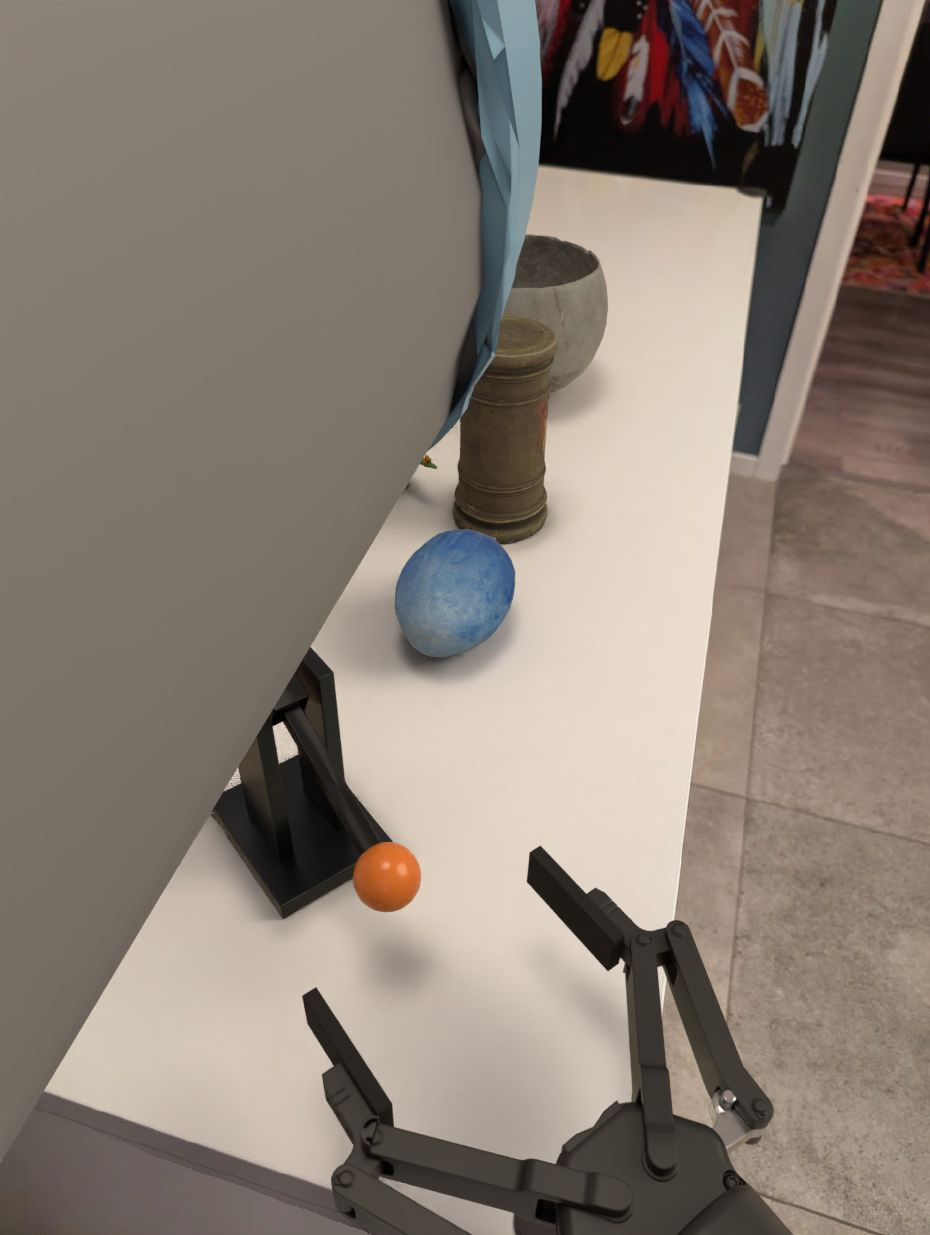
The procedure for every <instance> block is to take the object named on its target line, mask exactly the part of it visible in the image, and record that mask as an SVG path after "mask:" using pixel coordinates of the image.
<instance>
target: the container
mask: <svg viewBox="0 0 930 1235" xmlns="http://www.w3.org/2000/svg"><path fill="white" fill-rule="evenodd" d="M557 349H558V339H557V336H556V333H555V332H554V331H553V329H552V328H551V327H549V326H548V325H546V324H544V323H542V322H540V321H537V320H534V319H531V318H526V317H520V316H509V315H502V318H501V322H500V329H499V336H498V343H497V350H496V356H495V357H494V358H493V360H492V361H491V363H490V364H489V366H488V367H487V369H486V370H485V371H484V373H483V374H482V376H481V377H480V379H479V380H478V382H477V383H476V384H475V386H474V389H473V392H472V395H471V399H470V402H469V405H468V408H467V409H466V411H465V412H464V414H463V415H462V416H461V418H460V419H459V459H458V461H457V465H456V466H457V474H458V478H457V479H458V481H457V482H458V483H457V485H456V487H455V489H454V494H453V495H454V501H453V505H452V514H453V518H454V521H455V523H456V525H457V526H458V527H459V528H460V530H464V529H468V530H474V531H478V532H481V533H483V534H485V535H488V536H491V537H495V538H496V539H495V540H496V541H497V542H498V543H499V544H507V543H514V542H519V541H522V540H525V539H528V538H530V537H532V536H533V535H535V534H536V533H538V532H539V531H540V530H541V529H542V527H543V526H544V524H545V523H546V520H547V516H548V512H549V511H548V510H549V509H548V504H547V500H548V492H547V490H546V487H545V476H546V472H547V467H546V466H547V465H546V461H545V458H546V457H545V456H546V442H547V428H548V416H549V400H550V393H549V391H550V389H551V380H550V369H551V367H552V364H553V362H554V355H555V353H556V351H557ZM496 530H497V532H496Z"/></svg>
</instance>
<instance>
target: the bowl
mask: <svg viewBox="0 0 930 1235" xmlns="http://www.w3.org/2000/svg"><path fill="white" fill-rule="evenodd" d="M607 286H608V285H607V281H606V278H605V274H604V270H603V267H602V264H601V261H600V258H599V257H598V256H597V254H595V252H593V251H592V250H590V249H589V250H588V249H586V248H585V247H583V246H582V245H578V244H577V243H574V242H571V241H568V240H562V239H560V238H557V237H555V236H549V235H540V234H532V233H530V234H528V233H526V235H525V239H524V242H523V246H522V249H521V252H520V255H519V258H518V261H517V264H516V270H515V278H514V281H513V284H512V287H511V290H510V293H509V296H508V299H507V302H506V305H505V309H504V312H503V315H509V316H520V317H526V318H531V319H534V320H537V321H540V322H542V323H544V324H546V325H548V326H549V327H551V328H552V329H553V331H554V332H555V333H556V336H557V339H558V349H557V351H556V353H555V355H554V362H553V364H552V367H551V369H550V380H551V389H550V391H549V394H551V393H553V392H556V391H559V390H561V389H562V388H565V387H566V386H568V385H569V384H570V383H572V382H573V381H575V380H576V379H577V378H579V377H580V375H582V374H583V373H584V372H585V371H586V370H587V368H588V367H589V366H590V365H591V364H592V362H593V360H594V359H595V356H596V354H597V352H598V350H599V348H600V345H601V343H602V341H603V338H604V335H605V331H606V326H607V323H608V322H607V321H608V312H609V298H608V288H607Z"/></svg>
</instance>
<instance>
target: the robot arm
mask: <svg viewBox="0 0 930 1235" xmlns="http://www.w3.org/2000/svg"><path fill="white" fill-rule="evenodd" d="M536 6H537V5H536V0H0V1164H2V1162H3V1160H4V1159H5V1157H6V1155H7V1153H9V1150H10V1148H11V1146H12V1145H13V1143H14V1142H15V1140H16V1138H17V1137H18V1135H19V1133H20V1132H21V1130H22V1128H24V1125H25V1123H26V1122H27V1120H28V1118H29V1117H30V1115H31V1114H32V1112H33V1110H34V1108H35V1107H36V1105H37V1104H38V1102H39V1101H40V1098H41V1097H42V1095H43V1093H44V1092H45V1090H46V1089H47V1087H48V1085H49V1083H50V1082H51V1080H52V1078H53V1077H54V1076H55V1073H56V1072H57V1070H58V1068H59V1067H60V1065H61V1064H62V1062H63V1060H64V1058H65V1056H66V1055H67V1053H68V1051H69V1050H70V1048H71V1047H72V1046H73V1043H74V1042H75V1040H76V1039H77V1037H78V1035H79V1033H80V1032H81V1030H82V1028H83V1027H84V1025H85V1023H86V1021H87V1020H88V1019H89V1017H90V1015H91V1014H92V1012H93V1010H94V1008H95V1007H96V1005H97V1003H98V1002H99V1000H100V998H101V997H102V995H103V993H104V991H105V990H106V989H107V987H108V985H109V984H110V982H111V980H112V978H113V977H114V975H115V974H116V972H117V971H118V968H119V967H120V965H121V964H122V962H123V960H124V958H126V955H127V953H128V951H129V950H130V948H131V947H132V945H133V944H134V942H135V940H136V938H137V937H138V935H139V933H140V931H141V930H142V928H143V927H144V925H145V924H146V922H147V920H148V919H149V916H150V915H151V913H152V911H153V910H154V908H155V906H156V905H157V903H158V901H159V900H160V898H161V897H162V896H163V893H164V892H165V890H166V888H167V887H168V885H169V883H170V881H171V880H172V878H173V877H174V875H175V873H176V871H177V870H178V868H179V866H180V865H181V863H182V861H183V860H184V858H185V857H186V855H187V853H188V852H189V850H190V848H191V847H192V845H193V843H194V842H195V840H196V839H197V837H198V835H199V833H200V831H201V830H202V828H203V826H204V825H205V823H206V822H207V820H208V818H209V817H210V815H211V813H212V812H211V811H212V810H213V808H214V806H215V805H216V803H217V801H218V800H219V798H220V796H221V795H222V793H223V792H224V791H226V788H227V786H228V785H229V783H230V782H231V780H232V779H233V777H234V775H235V773H236V772H237V770H238V766H239V765H240V763H241V761H242V760H243V758H244V756H245V755H246V753H247V751H248V750H249V748H250V746H251V745H252V743H253V741H254V740H255V738H256V736H257V735H258V733H259V731H260V730H261V728H262V726H263V725H264V723H265V721H266V720H267V718H268V716H269V715H270V713H271V711H272V710H273V708H274V706H275V705H276V703H277V701H278V700H279V698H280V696H281V695H282V693H283V691H284V690H285V688H286V686H287V685H288V683H289V681H290V680H291V678H292V676H293V675H294V673H295V671H296V670H297V668H298V666H299V665H300V663H301V661H302V660H303V658H304V656H305V655H306V653H307V651H308V650H309V648H310V647H312V645H313V643H314V642H315V640H316V638H317V636H318V635H319V633H320V632H321V630H322V628H323V626H324V625H325V623H326V621H327V620H328V618H329V617H330V615H331V613H332V611H333V610H334V609H335V606H336V605H337V603H338V601H339V600H340V598H341V596H342V595H343V593H344V592H345V590H346V588H347V586H348V585H349V583H350V582H351V580H352V578H353V576H354V575H355V573H356V572H357V570H358V568H359V566H360V565H361V563H362V561H363V560H364V558H365V556H366V554H367V553H368V551H369V550H370V548H371V546H372V545H373V543H374V541H375V540H376V538H377V536H378V535H379V533H380V532H381V530H382V528H383V526H384V525H385V523H386V521H387V520H388V518H389V516H390V515H391V513H392V511H393V509H394V508H395V506H396V505H397V503H398V502H399V499H400V498H401V496H402V495H403V493H404V492H405V490H406V488H407V487H408V483H409V484H410V481H411V479H412V478H413V476H414V475H415V473H416V471H417V469H418V468H419V466H420V463H421V461H422V460H423V458H424V457H425V456H426V455H427V453H428V452H429V451H430V450H431V449H432V448H434V447H435V446H436V445H438V444H439V443H440V442H441V441H442V440H443V438H444V437H446V435H447V434H448V433H449V432H450V431H451V430H452V429H454V427H455V425H457V423H458V422H459V421H460V418H461V416H462V415H463V414H464V412H465V411H466V409H467V408H468V405H469V402H470V399H471V395H472V392H473V389H474V386H475V384H476V383H477V382H478V380H479V379H480V377H481V376H482V374H483V373H484V371H485V370H486V369H487V367H488V366H489V364H490V363H491V361H492V360H493V358H494V357H495V356H496V350H497V343H498V336H499V329H500V322H501V318H502V315H503V312H504V309H505V305H506V302H507V299H508V296H509V293H510V290H511V287H512V284H513V281H514V278H515V270H516V264H517V261H518V258H519V255H520V252H521V249H522V246H523V242H524V239H525V235H526V234H527V231H528V225H529V222H530V217H531V213H532V208H533V203H534V198H535V192H536V184H537V177H538V171H539V163H540V162H539V161H540V152H541V151H540V150H541V136H542V123H543V122H542V121H543V120H542V119H543V118H542V114H543V112H542V111H543V110H542V108H543V107H542V106H543V105H542V104H543V103H542V102H543V98H542V96H543V78H542V65H541V39H540V31H539V22H538V14H537V7H536ZM528 854H529V855H528V864H527V875H526V883H527V884H528V886H530V887H531V888H532V889H533V891H534V892H535V893H536V894H537V895H538V896H539V897H540V899H541V900H542V901H543V902H544V903H545V904H546V905H547V907H549V909H551V910H552V912H553V913H554V914H555V915H556V916H557V917H558V919H560V921H561V922H562V923H563V924H564V925H565V926H566V927H567V928H568V929H569V931H570V932H571V933H572V934H573V935H574V936H575V937H576V938H577V939H578V940H579V942H580V943H581V944H582V946H584V947H585V949H587V951H589V953H590V954H592V956H593V957H594V958H595V959H596V960H597V961H598V963H599V964H600V965H601V966H602V967H603V968H604V969H605V970H606V971H607V972H609V971H611V970H612V969H614V968H615V967H616V966H618V965H619V964H620V960H622V961H623V962H624V964H623V968H622V974H624V978H625V995H626V998H625V999H626V1010H627V1012H626V1013H627V1014H626V1015H627V1028H628V1030H627V1031H628V1044H629V1045H628V1046H629V1061H630V1062H629V1063H630V1075H631V1076H630V1077H631V1101H625V1102H621V1103H620V1102H619V1101H618V1100H615V1101H614V1102H612V1104H610V1105H609V1106H608V1107H607V1108H606V1109H604V1110H603V1111H602V1113H601V1114H600V1116H599V1118H598V1119H597V1120H596V1121H595V1123H594V1125H593V1126H591V1127H589V1128H587V1129H584V1130H582V1131H580V1132H577V1133H575V1134H574V1135H573V1136H572V1137H570V1138H569V1139H568V1140H567V1141H566V1142H565V1143H563V1144H562V1145H561V1151H560V1153H559V1154H558V1157H557V1159H556V1162H555V1163H553V1162H550V1161H545V1160H541V1159H538V1158H531V1157H530V1158H525V1159H520V1158H519V1159H518V1158H516V1157H511V1156H507V1155H503V1154H500V1153H496V1152H492V1151H488V1150H484V1149H480V1148H476V1147H473V1146H468V1145H466V1144H461V1143H457V1142H453V1141H450V1140H446V1139H442V1138H438V1137H434V1136H430V1135H427V1134H423V1133H419V1132H415V1131H413V1130H412V1131H411V1130H407V1129H404V1128H399V1127H396V1126H395V1120H394V1108H393V1102H392V1100H391V1099H390V1097H389V1096H388V1094H387V1093H386V1092H385V1090H384V1088H383V1087H382V1085H381V1084H380V1082H379V1081H378V1079H377V1078H376V1076H375V1074H374V1073H373V1071H372V1070H371V1069H370V1067H369V1065H368V1064H367V1062H366V1061H365V1059H364V1058H363V1057H362V1055H361V1053H360V1051H359V1050H358V1049H357V1046H355V1043H354V1042H353V1041H352V1039H351V1038H350V1036H349V1035H348V1033H347V1031H346V1030H345V1028H344V1027H343V1026H342V1024H341V1023H340V1021H339V1020H338V1018H337V1016H336V1015H335V1013H334V1012H333V1010H332V1009H331V1007H330V1006H329V1004H328V1002H327V1001H326V1000H325V998H324V997H323V995H322V993H321V992H320V990H319V989H318V987H317V986H315V987H314V988H312V989H310V990H309V991H306V992H305V993H304V994H302V996H301V998H302V1003H303V1008H304V1014H305V1019H306V1023H307V1026H308V1027H309V1030H310V1031H311V1032H312V1034H313V1035H314V1037H315V1039H316V1040H317V1042H318V1043H319V1045H320V1047H321V1048H322V1050H323V1051H324V1053H325V1055H326V1056H327V1058H328V1059H329V1061H330V1063H331V1064H332V1067H330V1068H328V1070H325V1071H324V1072H322V1073H321V1079H322V1080H321V1081H322V1086H323V1091H324V1097H325V1101H326V1103H327V1104H328V1106H329V1109H331V1111H332V1112H333V1114H334V1115H335V1118H336V1119H337V1121H338V1122H339V1124H340V1126H341V1128H342V1129H343V1131H344V1132H345V1134H346V1136H347V1138H348V1139H349V1141H350V1143H351V1144H352V1149H351V1152H350V1153H349V1155H348V1156H347V1158H346V1159H345V1161H344V1162H343V1163H342V1164H340V1165H339V1166H337V1167H336V1168H335V1169H334V1170H333V1172H332V1175H331V1178H330V1186H331V1191H332V1195H333V1199H334V1205H335V1208H336V1210H337V1212H338V1213H339V1214H340V1215H341V1216H342V1217H344V1218H345V1219H347V1220H349V1221H350V1222H352V1223H353V1224H355V1225H356V1226H358V1227H360V1228H362V1229H364V1230H365V1231H367V1232H368V1233H370V1234H372V1235H473V1234H472V1233H470V1232H468V1231H467V1230H465V1229H463V1228H461V1227H459V1226H458V1225H457V1224H455V1223H453V1222H452V1221H450V1220H449V1219H446V1218H444V1217H443V1216H441V1215H439V1214H438V1213H436V1212H434V1211H432V1210H431V1209H429V1208H427V1207H426V1206H424V1205H422V1204H421V1203H419V1202H417V1201H416V1200H414V1199H412V1198H410V1197H409V1196H408V1195H406V1194H404V1193H402V1192H400V1191H398V1190H397V1189H396V1188H393V1187H392V1186H390V1185H388V1184H386V1183H385V1182H384V1181H381V1180H380V1178H383V1179H385V1180H390V1181H394V1182H397V1183H401V1184H405V1185H409V1186H412V1187H417V1188H420V1189H423V1190H427V1191H431V1192H435V1193H437V1194H438V1193H439V1194H441V1195H445V1196H449V1197H452V1198H457V1199H461V1200H464V1201H468V1202H472V1203H475V1204H479V1205H482V1206H486V1207H489V1208H494V1209H498V1210H502V1211H503V1212H504V1211H505V1212H509V1213H511V1214H513V1215H515V1216H517V1217H518V1218H520V1219H521V1220H524V1221H526V1222H529V1223H532V1224H536V1225H540V1226H544V1227H547V1228H551V1229H555V1235H794V1233H793V1231H791V1230H790V1228H788V1226H786V1224H785V1222H783V1221H782V1219H781V1218H780V1217H779V1215H777V1213H776V1212H774V1210H773V1209H772V1208H771V1207H770V1206H769V1204H768V1203H767V1202H766V1201H765V1200H764V1199H763V1197H762V1196H761V1195H760V1194H759V1193H758V1192H757V1191H756V1189H755V1188H754V1187H753V1186H752V1185H751V1184H749V1183H748V1182H747V1181H746V1180H745V1179H744V1178H743V1177H742V1176H741V1175H740V1174H739V1173H738V1172H737V1171H736V1169H735V1167H734V1165H733V1164H732V1161H731V1159H730V1157H729V1154H731V1153H732V1152H733V1151H735V1150H736V1149H738V1148H739V1147H741V1146H742V1145H743V1144H745V1145H749V1146H750V1145H751V1146H754V1145H756V1144H758V1143H759V1142H760V1141H761V1139H762V1137H763V1136H764V1134H765V1132H766V1130H767V1128H768V1126H769V1124H770V1123H771V1121H772V1119H773V1117H774V1113H775V1110H774V1105H773V1103H772V1101H771V1099H770V1098H769V1096H767V1094H766V1093H765V1092H764V1091H763V1089H762V1088H761V1087H760V1086H759V1084H758V1083H757V1081H756V1080H755V1079H754V1078H753V1077H752V1075H751V1074H750V1072H748V1070H747V1069H746V1068H745V1066H744V1065H743V1061H742V1059H741V1057H740V1053H739V1052H738V1049H737V1047H736V1046H737V1045H736V1043H735V1041H734V1038H733V1036H732V1034H731V1030H730V1028H729V1026H728V1023H727V1020H726V1018H725V1015H724V1013H723V1011H722V1008H721V1005H720V1003H719V1000H718V998H717V995H716V993H715V989H714V986H713V984H712V983H711V980H710V977H709V974H708V972H707V970H706V967H705V964H704V961H703V959H702V957H701V954H700V952H699V949H698V946H697V944H696V941H695V938H694V936H693V934H692V931H691V928H690V927H689V925H688V924H687V923H685V922H684V921H682V920H680V919H673V920H670V921H669V922H668V923H667V924H666V926H665V927H662V928H657V929H653V930H646V929H643V928H641V927H640V926H639V925H637V924H636V923H635V922H634V921H633V920H632V919H631V918H630V917H629V916H628V915H627V913H626V912H624V910H623V909H622V908H620V906H618V904H617V903H616V902H615V901H613V899H612V898H611V897H610V896H609V895H608V894H607V893H606V892H605V891H603V890H601V889H599V888H597V887H594V888H593V889H591V890H590V891H588V892H585V891H584V890H583V889H582V887H580V885H579V884H578V883H577V882H576V881H575V880H574V879H573V878H572V876H570V874H568V873H567V871H566V870H564V868H563V867H562V866H561V865H560V864H559V863H558V862H557V861H556V860H555V859H554V858H553V857H552V856H551V855H550V854H549V852H548V851H547V850H546V849H545V848H544V847H542V845H539V846H537V847H536V848H534V849H532V850H531V851H529V853H528ZM660 967H662V969H663V972H664V975H665V978H666V980H667V983H668V986H669V989H670V992H671V995H672V997H673V1000H674V1004H675V1006H676V1009H677V1012H678V1014H679V1018H680V1020H681V1023H682V1025H683V1029H684V1031H685V1034H686V1037H687V1040H688V1044H689V1046H690V1048H691V1051H692V1054H693V1056H694V1060H695V1062H696V1065H697V1068H698V1070H699V1074H700V1075H701V1079H702V1082H703V1085H704V1087H705V1090H706V1092H707V1095H708V1096H709V1098H710V1102H709V1105H708V1114H709V1116H710V1119H711V1121H712V1127H711V1126H709V1125H707V1124H704V1123H702V1122H699V1121H696V1120H692V1119H689V1118H687V1117H683V1116H680V1115H677V1114H674V1110H673V1100H672V1090H671V1079H670V1078H671V1076H670V1071H669V1068H668V1066H667V1059H666V1058H667V1057H666V1047H665V1046H666V1045H665V1035H664V1025H663V1013H662V1003H661V992H660V981H659V969H658V968H660Z"/></svg>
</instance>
